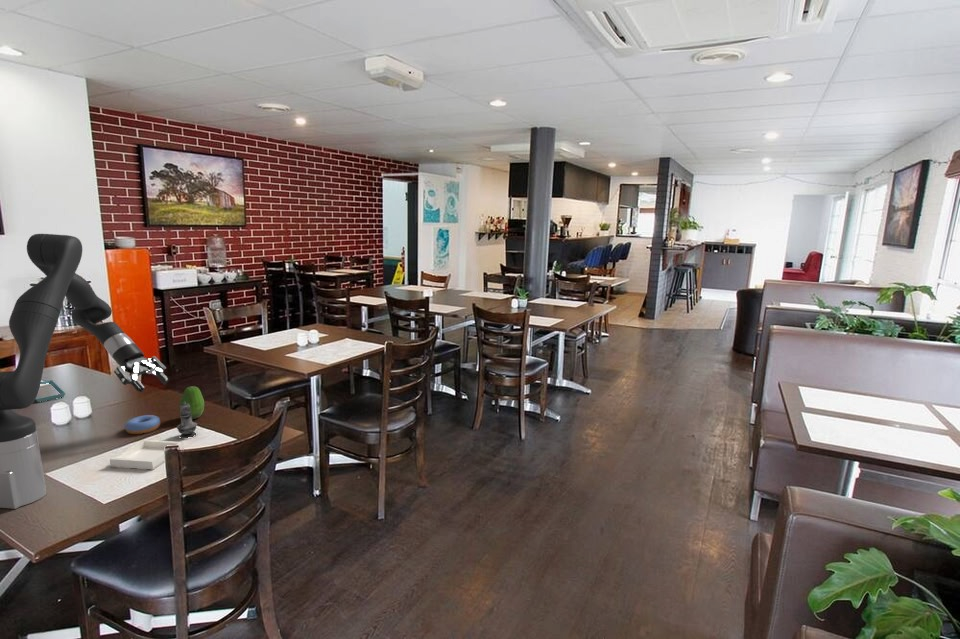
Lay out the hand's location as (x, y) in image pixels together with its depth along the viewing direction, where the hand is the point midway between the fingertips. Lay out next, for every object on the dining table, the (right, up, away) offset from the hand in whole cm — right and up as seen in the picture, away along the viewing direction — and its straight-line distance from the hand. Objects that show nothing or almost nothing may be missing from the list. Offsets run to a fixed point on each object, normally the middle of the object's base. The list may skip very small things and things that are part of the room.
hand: (154, 386), depth 163 cm
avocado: (+4, -13, +14) cm, 20 cm away
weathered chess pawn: (+11, -16, 0) cm, 20 cm away
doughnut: (-7, -15, +5) cm, 18 cm away
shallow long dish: (-69, -8, +38) cm, 80 cm away
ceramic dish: (+8, -19, -16) cm, 26 cm away
